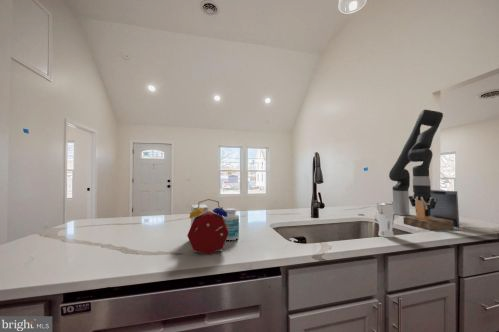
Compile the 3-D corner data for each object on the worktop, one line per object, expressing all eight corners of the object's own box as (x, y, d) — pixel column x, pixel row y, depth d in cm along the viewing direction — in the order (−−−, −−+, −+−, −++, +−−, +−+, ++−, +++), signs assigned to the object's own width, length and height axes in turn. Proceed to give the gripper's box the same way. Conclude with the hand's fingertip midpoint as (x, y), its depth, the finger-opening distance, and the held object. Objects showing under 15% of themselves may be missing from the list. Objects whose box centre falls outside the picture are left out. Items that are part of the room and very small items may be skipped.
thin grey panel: (420, 222, 118) (418, 189, 119) (430, 221, 120) (429, 189, 121) (447, 228, 105) (445, 191, 106) (459, 227, 106) (457, 191, 107)
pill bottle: (224, 242, 86) (224, 210, 86) (220, 237, 93) (220, 208, 93) (241, 240, 88) (241, 209, 89) (236, 235, 95) (236, 207, 96)
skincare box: (190, 239, 90) (190, 204, 91) (204, 237, 93) (205, 204, 94) (192, 245, 82) (193, 207, 83) (208, 243, 85) (208, 206, 86)
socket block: (403, 223, 116) (403, 216, 116) (425, 222, 119) (425, 215, 119) (429, 230, 102) (429, 222, 102) (453, 228, 105) (453, 220, 106)
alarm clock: (227, 247, 79) (227, 197, 80) (228, 256, 71) (228, 200, 72) (189, 250, 77) (190, 198, 78) (185, 259, 68) (186, 201, 69)
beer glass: (375, 236, 93) (374, 203, 94) (378, 232, 98) (377, 202, 99) (394, 239, 88) (392, 205, 89) (396, 235, 93) (394, 203, 94)
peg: (416, 221, 112) (415, 200, 112) (422, 221, 113) (421, 199, 113) (424, 223, 108) (423, 200, 108) (430, 222, 109) (428, 200, 109)
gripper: (403, 184, 117) (405, 213, 116) (430, 185, 104) (431, 218, 103) (413, 184, 119) (415, 212, 118) (441, 184, 105) (443, 217, 104)
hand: (423, 215), depth 110 cm, fingers closed on peg, 4 cm apart
